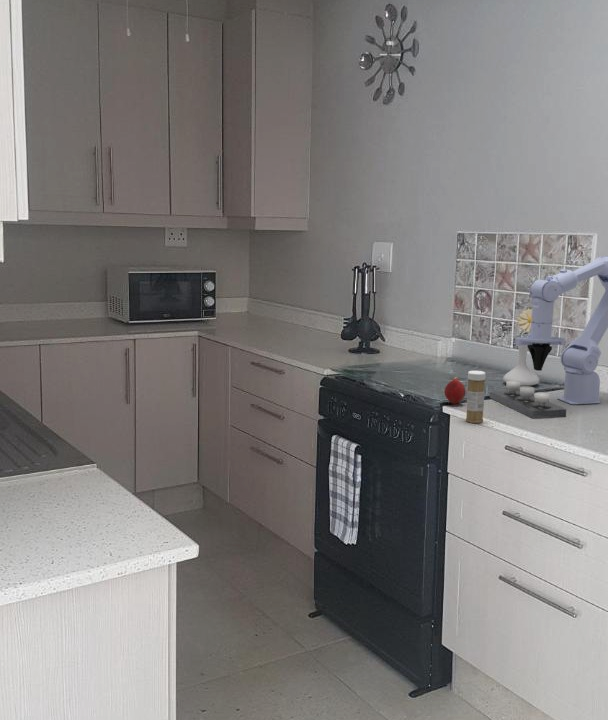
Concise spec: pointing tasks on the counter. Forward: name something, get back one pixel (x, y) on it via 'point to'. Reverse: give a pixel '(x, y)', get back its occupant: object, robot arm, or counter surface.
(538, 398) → the knob
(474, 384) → the sprinkles bottle
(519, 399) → the panel
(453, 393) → the onion
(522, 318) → the flower in vase
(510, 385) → the knob
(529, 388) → the knob mid
